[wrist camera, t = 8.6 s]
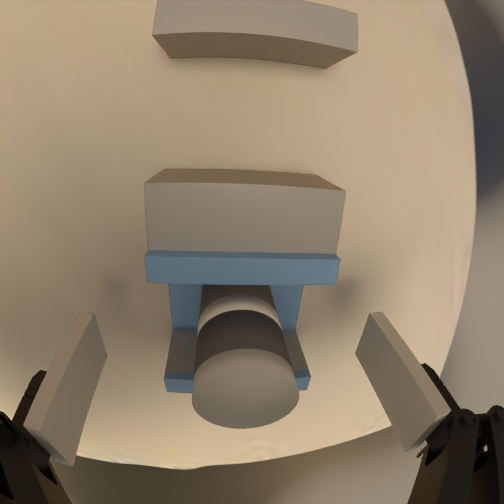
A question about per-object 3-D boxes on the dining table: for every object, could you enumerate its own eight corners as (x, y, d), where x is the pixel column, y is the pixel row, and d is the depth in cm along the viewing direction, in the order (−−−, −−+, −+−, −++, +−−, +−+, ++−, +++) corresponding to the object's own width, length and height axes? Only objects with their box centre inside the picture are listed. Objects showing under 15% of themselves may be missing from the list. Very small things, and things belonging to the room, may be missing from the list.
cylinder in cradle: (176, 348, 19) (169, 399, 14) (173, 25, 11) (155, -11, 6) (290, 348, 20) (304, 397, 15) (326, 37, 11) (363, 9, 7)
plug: (203, 318, 17) (196, 428, 10) (201, 260, 16) (187, 368, 9) (266, 318, 18) (290, 425, 11) (272, 261, 16) (308, 366, 9)
